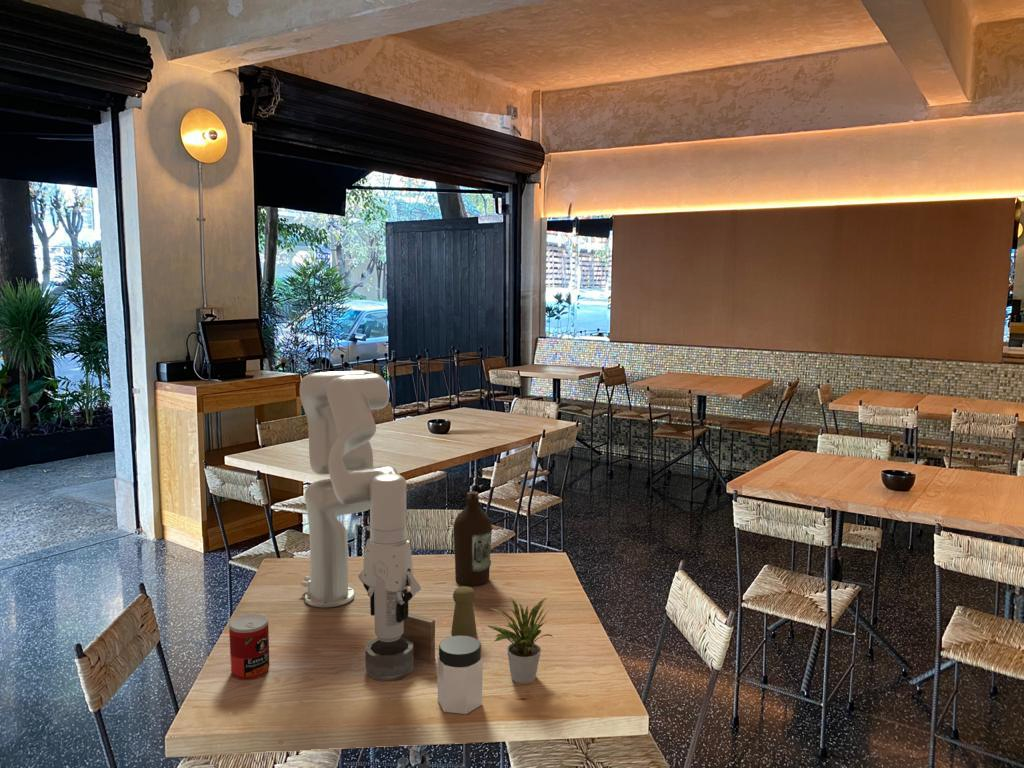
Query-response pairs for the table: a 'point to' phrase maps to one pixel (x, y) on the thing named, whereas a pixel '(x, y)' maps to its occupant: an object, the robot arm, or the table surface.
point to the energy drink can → (386, 614)
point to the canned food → (249, 646)
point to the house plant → (522, 642)
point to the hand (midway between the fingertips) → (389, 615)
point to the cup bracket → (401, 650)
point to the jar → (460, 674)
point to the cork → (464, 612)
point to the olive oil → (472, 543)
